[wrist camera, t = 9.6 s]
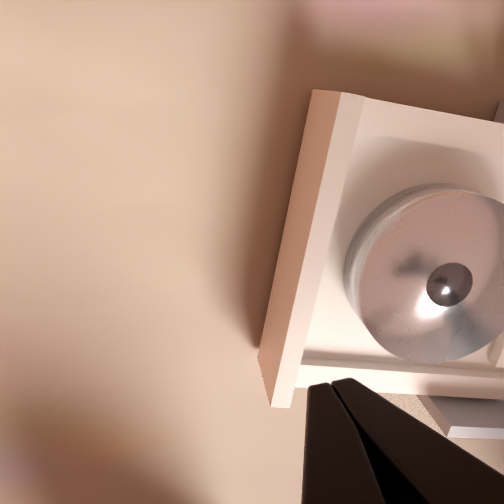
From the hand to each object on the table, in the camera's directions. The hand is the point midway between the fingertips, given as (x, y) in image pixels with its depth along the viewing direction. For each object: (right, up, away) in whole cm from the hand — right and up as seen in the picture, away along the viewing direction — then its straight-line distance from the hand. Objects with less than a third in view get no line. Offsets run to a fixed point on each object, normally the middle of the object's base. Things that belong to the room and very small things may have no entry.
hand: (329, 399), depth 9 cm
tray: (+6, +3, +12) cm, 14 cm away
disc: (+6, +2, +11) cm, 12 cm away
